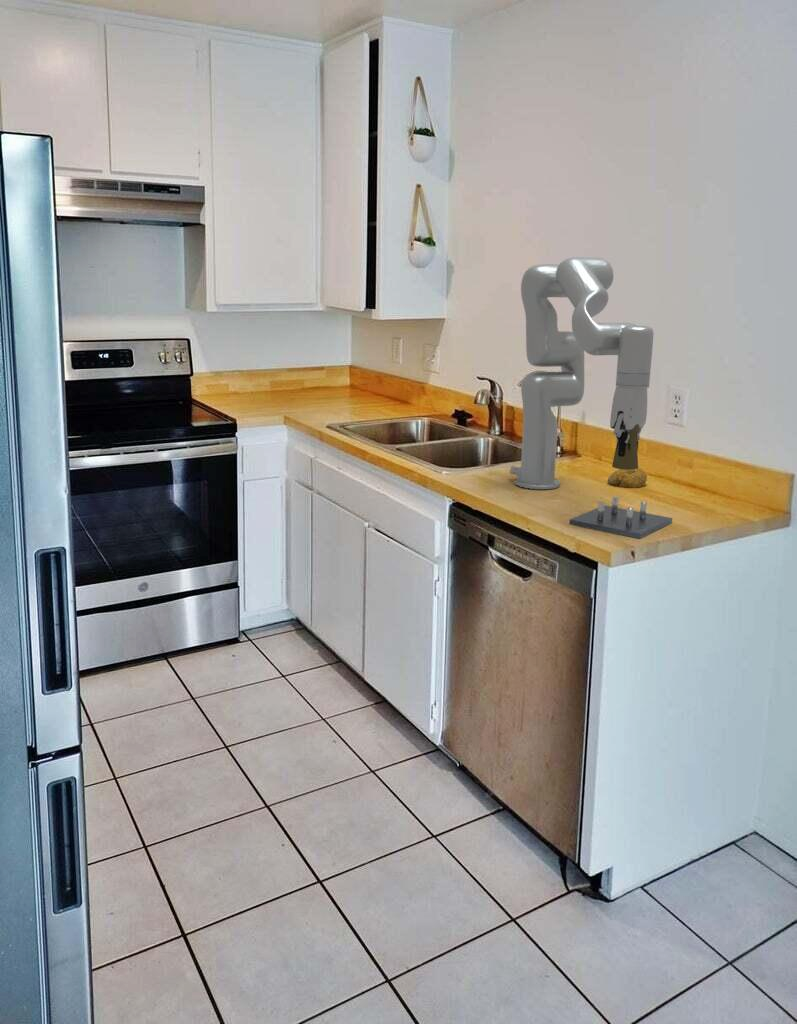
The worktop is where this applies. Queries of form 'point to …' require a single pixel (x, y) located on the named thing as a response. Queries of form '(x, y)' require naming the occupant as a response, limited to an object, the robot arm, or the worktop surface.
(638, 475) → the bagel
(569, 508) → the worktop surface
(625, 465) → the olive tapered piece
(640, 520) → the pin plate
